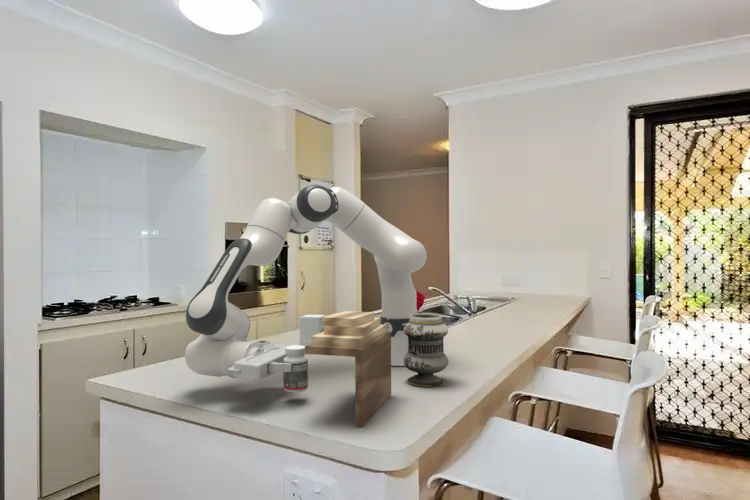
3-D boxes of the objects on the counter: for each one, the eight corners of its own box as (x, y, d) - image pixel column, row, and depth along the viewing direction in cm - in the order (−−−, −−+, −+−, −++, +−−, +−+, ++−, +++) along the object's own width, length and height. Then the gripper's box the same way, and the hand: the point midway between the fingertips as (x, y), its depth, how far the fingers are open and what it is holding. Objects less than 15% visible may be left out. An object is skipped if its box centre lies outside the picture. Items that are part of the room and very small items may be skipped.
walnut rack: (305, 421, 100) (305, 346, 100) (343, 391, 121) (343, 329, 121) (362, 427, 96) (361, 349, 96) (391, 395, 117) (390, 331, 117)
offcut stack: (311, 344, 101) (311, 319, 101) (343, 330, 119) (343, 308, 119) (360, 347, 98) (360, 321, 98) (386, 332, 116) (386, 309, 116)
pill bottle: (284, 386, 115) (284, 344, 115) (308, 385, 116) (308, 344, 116) (282, 393, 110) (281, 349, 110) (307, 392, 110) (307, 349, 110)
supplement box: (319, 354, 163) (319, 317, 163) (299, 353, 164) (298, 316, 164) (326, 350, 170) (326, 314, 170) (306, 349, 172) (306, 313, 172)
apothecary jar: (421, 391, 120) (421, 319, 120) (394, 380, 130) (394, 314, 130) (458, 383, 127) (457, 315, 127) (429, 373, 137) (429, 310, 137)
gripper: (221, 356, 107) (277, 360, 103) (268, 339, 126) (316, 341, 122) (221, 385, 107) (277, 390, 103) (268, 363, 126) (316, 366, 122)
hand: (299, 363), depth 112 cm, fingers closed on pill bottle, 6 cm apart
